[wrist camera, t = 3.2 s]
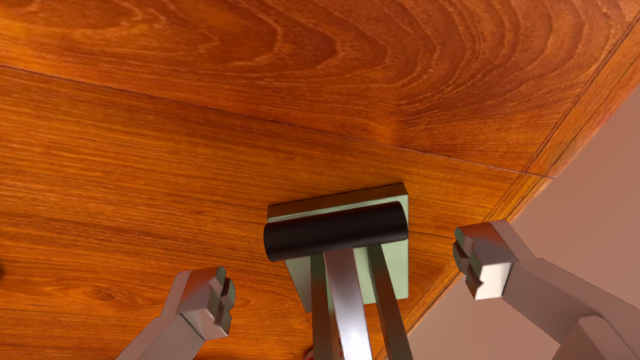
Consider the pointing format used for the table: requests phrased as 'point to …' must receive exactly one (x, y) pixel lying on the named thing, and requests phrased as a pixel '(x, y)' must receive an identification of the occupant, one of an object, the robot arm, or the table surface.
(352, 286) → the grey lever bar
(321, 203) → the lever stand
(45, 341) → the table surface
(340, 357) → the soda can
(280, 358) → the table surface
